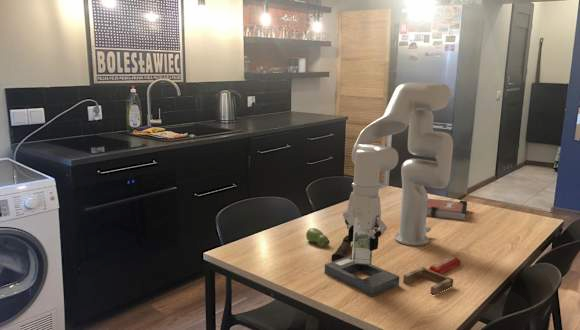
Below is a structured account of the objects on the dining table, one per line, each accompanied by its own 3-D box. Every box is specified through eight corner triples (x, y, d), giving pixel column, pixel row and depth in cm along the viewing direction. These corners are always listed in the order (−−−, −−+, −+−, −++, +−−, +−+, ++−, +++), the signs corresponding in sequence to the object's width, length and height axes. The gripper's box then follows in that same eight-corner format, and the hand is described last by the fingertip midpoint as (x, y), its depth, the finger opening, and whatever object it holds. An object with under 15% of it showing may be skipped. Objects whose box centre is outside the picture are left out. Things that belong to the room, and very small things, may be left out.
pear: (314, 224, 180) (334, 235, 173) (312, 237, 182) (331, 248, 175) (304, 227, 176) (323, 239, 169) (302, 240, 178) (321, 252, 171)
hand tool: (342, 266, 157) (343, 252, 156) (330, 263, 159) (331, 250, 158) (356, 246, 175) (357, 234, 174) (346, 244, 176) (346, 233, 175)
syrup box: (370, 258, 148) (372, 213, 146) (371, 265, 142) (374, 219, 140) (351, 257, 149) (354, 212, 146) (352, 264, 143) (354, 218, 140)
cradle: (421, 274, 152) (422, 267, 151) (452, 286, 143) (453, 279, 143) (403, 282, 146) (403, 275, 145) (433, 296, 137) (434, 288, 137)
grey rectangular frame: (350, 263, 158) (350, 254, 158) (398, 285, 143) (399, 275, 143) (324, 273, 151) (324, 263, 150) (372, 297, 136) (373, 286, 135)
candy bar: (436, 278, 150) (437, 269, 149) (426, 274, 153) (427, 265, 152) (462, 264, 160) (463, 256, 160) (452, 261, 163) (453, 253, 162)
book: (403, 214, 214) (404, 203, 213) (409, 204, 230) (409, 194, 229) (465, 222, 205) (466, 211, 204) (466, 211, 221) (467, 201, 220)
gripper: (336, 185, 145) (333, 239, 149) (380, 198, 132) (376, 257, 136) (352, 182, 150) (350, 234, 154) (397, 194, 137) (393, 251, 141)
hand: (362, 245), depth 145 cm, fingers closed on syrup box, 8 cm apart
